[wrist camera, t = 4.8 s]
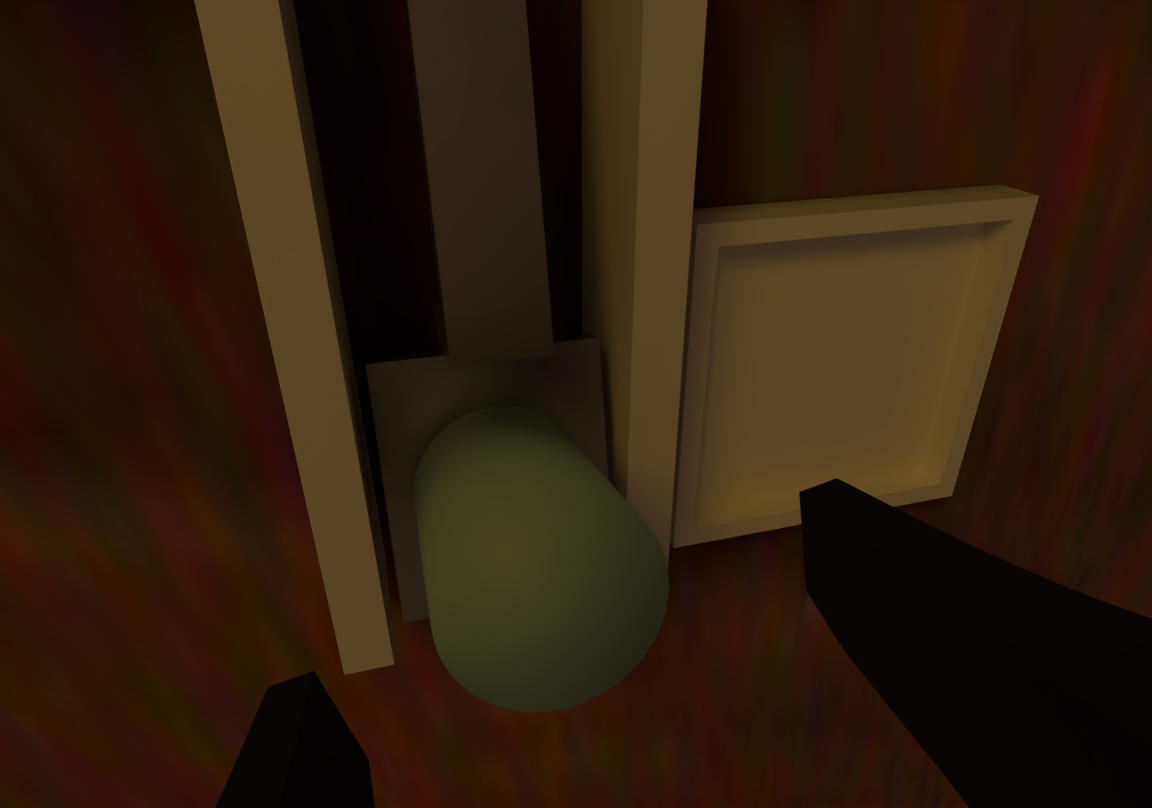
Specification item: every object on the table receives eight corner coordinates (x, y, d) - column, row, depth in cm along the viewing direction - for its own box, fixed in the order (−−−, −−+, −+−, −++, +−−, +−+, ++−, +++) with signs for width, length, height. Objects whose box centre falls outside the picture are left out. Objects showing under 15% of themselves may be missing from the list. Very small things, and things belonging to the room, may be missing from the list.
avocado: (578, 395, 17) (664, 469, 12) (589, 553, 18) (673, 683, 13) (402, 419, 16) (415, 510, 11) (424, 583, 18) (445, 735, 12)
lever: (733, -331, 15) (850, -511, 11) (746, 545, 20) (831, 618, 16) (258, -377, 13) (210, -615, 9) (402, 610, 18) (410, 713, 14)
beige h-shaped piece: (638, -188, 15) (724, -239, 12) (619, 520, 24) (664, 608, 20) (185, -210, 13) (131, -279, 10) (344, 568, 22) (344, 674, 18)
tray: (1000, 184, 22) (1038, 196, 20) (924, 473, 26) (951, 495, 25) (675, 210, 19) (697, 225, 18) (657, 520, 24) (673, 548, 23)
